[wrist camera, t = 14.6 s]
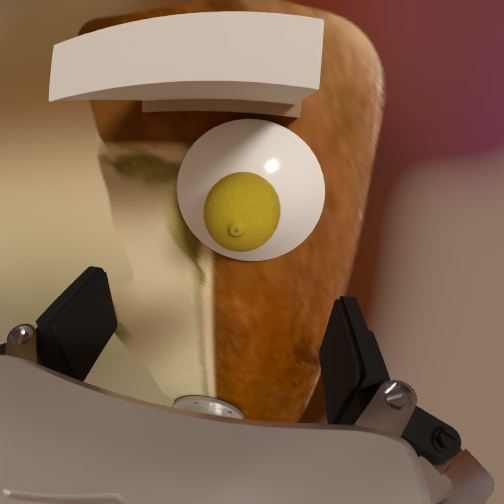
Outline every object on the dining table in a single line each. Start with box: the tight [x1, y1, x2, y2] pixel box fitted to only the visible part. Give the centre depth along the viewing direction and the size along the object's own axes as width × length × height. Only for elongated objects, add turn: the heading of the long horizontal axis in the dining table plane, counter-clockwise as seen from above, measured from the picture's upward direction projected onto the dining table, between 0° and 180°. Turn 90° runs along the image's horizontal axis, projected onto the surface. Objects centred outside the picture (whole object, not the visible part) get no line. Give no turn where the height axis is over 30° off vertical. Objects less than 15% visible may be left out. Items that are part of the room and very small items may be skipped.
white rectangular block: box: [49, 12, 324, 118], centre depth 14 cm, size 5×13×14 cm, turn 85°
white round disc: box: [177, 119, 325, 261], centre depth 24 cm, size 13×13×1 cm
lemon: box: [203, 172, 280, 252], centre depth 20 cm, size 6×6×8 cm
